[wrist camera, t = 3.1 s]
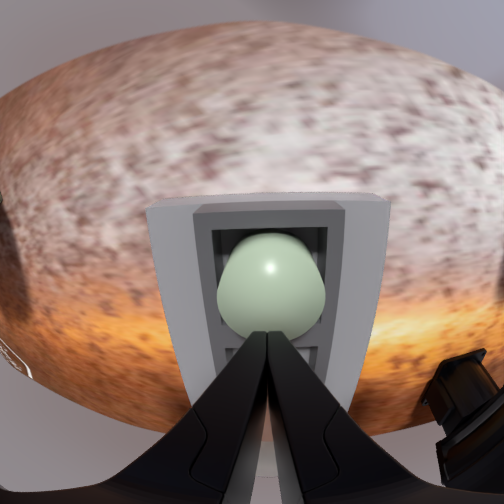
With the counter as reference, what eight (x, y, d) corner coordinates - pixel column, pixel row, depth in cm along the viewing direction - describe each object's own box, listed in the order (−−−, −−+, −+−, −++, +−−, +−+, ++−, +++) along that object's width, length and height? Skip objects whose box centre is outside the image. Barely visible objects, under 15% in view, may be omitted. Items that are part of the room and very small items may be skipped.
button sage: (315, 227, 12) (329, 248, 9) (311, 306, 13) (320, 341, 10) (223, 229, 12) (211, 251, 9) (230, 308, 13) (222, 343, 11)
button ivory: (302, 420, 15) (305, 454, 12) (298, 446, 16) (299, 476, 13) (239, 421, 15) (236, 455, 12) (244, 447, 16) (241, 476, 14)
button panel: (372, 193, 14) (409, 210, 10) (338, 403, 21) (346, 443, 16) (162, 199, 15) (126, 218, 11) (204, 405, 21) (195, 445, 17)
